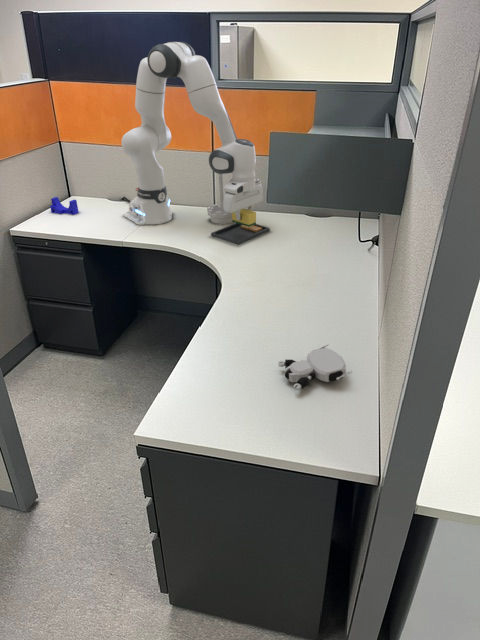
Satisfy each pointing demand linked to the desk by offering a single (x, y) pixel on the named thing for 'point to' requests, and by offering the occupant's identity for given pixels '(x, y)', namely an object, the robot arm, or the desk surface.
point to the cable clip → (60, 209)
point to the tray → (238, 233)
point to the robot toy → (315, 367)
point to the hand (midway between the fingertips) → (243, 217)
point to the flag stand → (219, 208)
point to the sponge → (245, 217)
